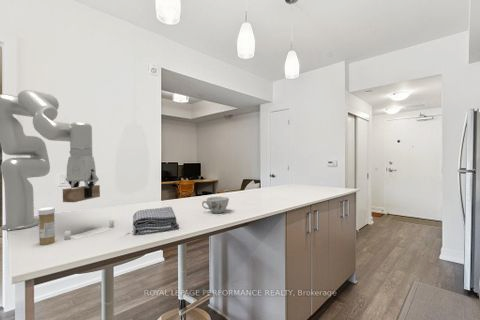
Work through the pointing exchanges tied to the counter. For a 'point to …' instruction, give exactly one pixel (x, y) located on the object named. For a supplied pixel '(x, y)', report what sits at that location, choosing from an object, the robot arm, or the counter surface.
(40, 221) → the pill bottle
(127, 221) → the counter surface
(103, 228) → the panel
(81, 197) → the frame
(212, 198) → the teacup
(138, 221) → the towel
